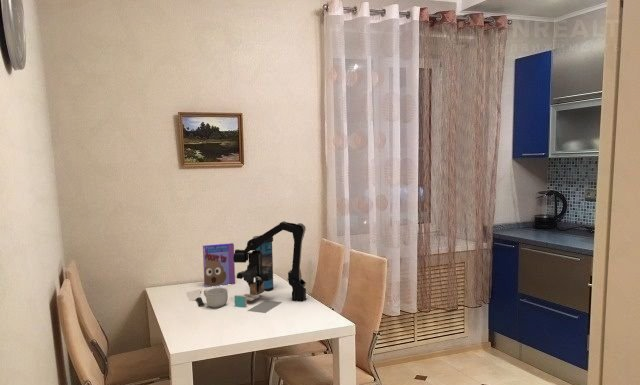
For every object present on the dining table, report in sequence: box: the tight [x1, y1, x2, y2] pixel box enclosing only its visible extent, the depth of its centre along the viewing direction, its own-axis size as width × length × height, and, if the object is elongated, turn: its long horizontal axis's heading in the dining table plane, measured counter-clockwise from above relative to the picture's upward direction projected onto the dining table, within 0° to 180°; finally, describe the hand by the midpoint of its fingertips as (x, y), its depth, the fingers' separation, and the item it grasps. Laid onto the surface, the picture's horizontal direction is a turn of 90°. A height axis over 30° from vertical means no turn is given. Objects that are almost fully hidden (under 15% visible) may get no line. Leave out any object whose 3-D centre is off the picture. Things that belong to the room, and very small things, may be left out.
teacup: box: [203, 287, 229, 309], centre depth 224 cm, size 14×11×8 cm
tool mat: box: [246, 299, 283, 314], centre depth 219 cm, size 10×18×1 cm, turn 157°
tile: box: [234, 294, 248, 308], centre depth 220 cm, size 6×2×6 cm, turn 68°
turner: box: [243, 281, 265, 302], centre depth 231 cm, size 16×8×6 cm, turn 157°
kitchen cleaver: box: [185, 289, 206, 308], centre depth 236 cm, size 31×2×10 cm
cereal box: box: [202, 243, 236, 288], centre depth 264 cm, size 17×5×24 cm, turn 111°
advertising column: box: [252, 235, 274, 292], centre depth 251 cm, size 11×11×30 cm
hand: (255, 292), depth 232 cm, fingers closed on turner, 3 cm apart
